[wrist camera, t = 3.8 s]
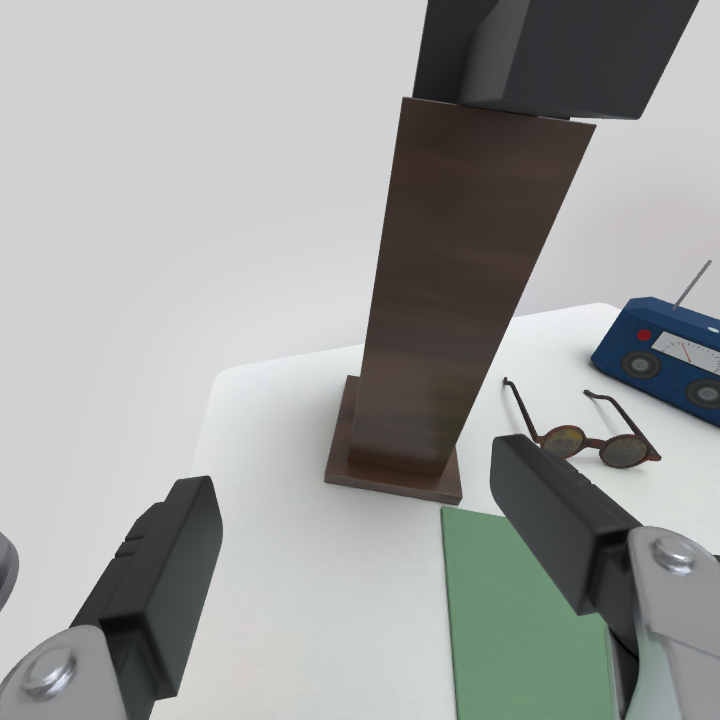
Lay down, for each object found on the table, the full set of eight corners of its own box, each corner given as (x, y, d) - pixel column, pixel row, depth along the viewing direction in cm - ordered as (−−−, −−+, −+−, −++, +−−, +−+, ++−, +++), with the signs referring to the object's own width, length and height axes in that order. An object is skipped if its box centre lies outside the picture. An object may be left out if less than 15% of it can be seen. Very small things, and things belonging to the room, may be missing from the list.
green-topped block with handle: (729, 132, 10) (936, -190, 7) (415, 87, 10) (471, -246, 7) (525, 118, 26) (556, 26, 23) (411, 102, 27) (426, 8, 24)
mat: (715, 794, 21) (721, 794, 21) (459, 746, 21) (462, 745, 21) (599, 536, 34) (602, 533, 34) (440, 508, 34) (442, 505, 34)
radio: (584, 367, 58) (659, 253, 46) (596, 349, 64) (667, 243, 52) (739, 441, 48) (889, 318, 36) (739, 412, 53) (869, 297, 41)
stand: (458, 505, 35) (660, 132, 16) (324, 482, 35) (360, 88, 16) (445, 399, 48) (546, 122, 28) (346, 382, 48) (381, 98, 29)
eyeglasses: (525, 456, 41) (543, 428, 38) (497, 378, 53) (509, 352, 50) (645, 474, 41) (673, 447, 38) (590, 392, 53) (608, 367, 50)
